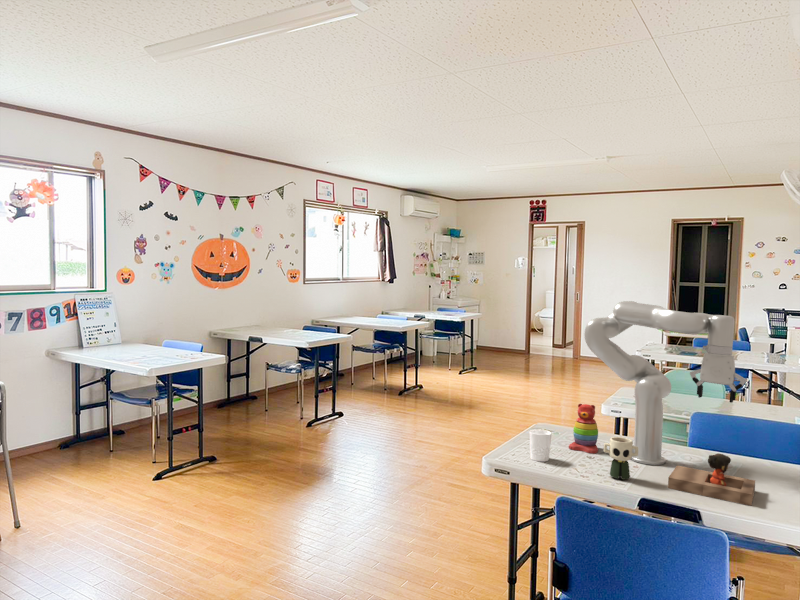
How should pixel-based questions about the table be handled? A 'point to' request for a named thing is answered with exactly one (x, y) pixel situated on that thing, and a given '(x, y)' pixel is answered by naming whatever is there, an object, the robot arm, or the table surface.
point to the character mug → (620, 456)
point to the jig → (712, 485)
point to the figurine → (719, 468)
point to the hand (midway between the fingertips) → (715, 399)
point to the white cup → (540, 445)
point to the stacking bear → (585, 430)
